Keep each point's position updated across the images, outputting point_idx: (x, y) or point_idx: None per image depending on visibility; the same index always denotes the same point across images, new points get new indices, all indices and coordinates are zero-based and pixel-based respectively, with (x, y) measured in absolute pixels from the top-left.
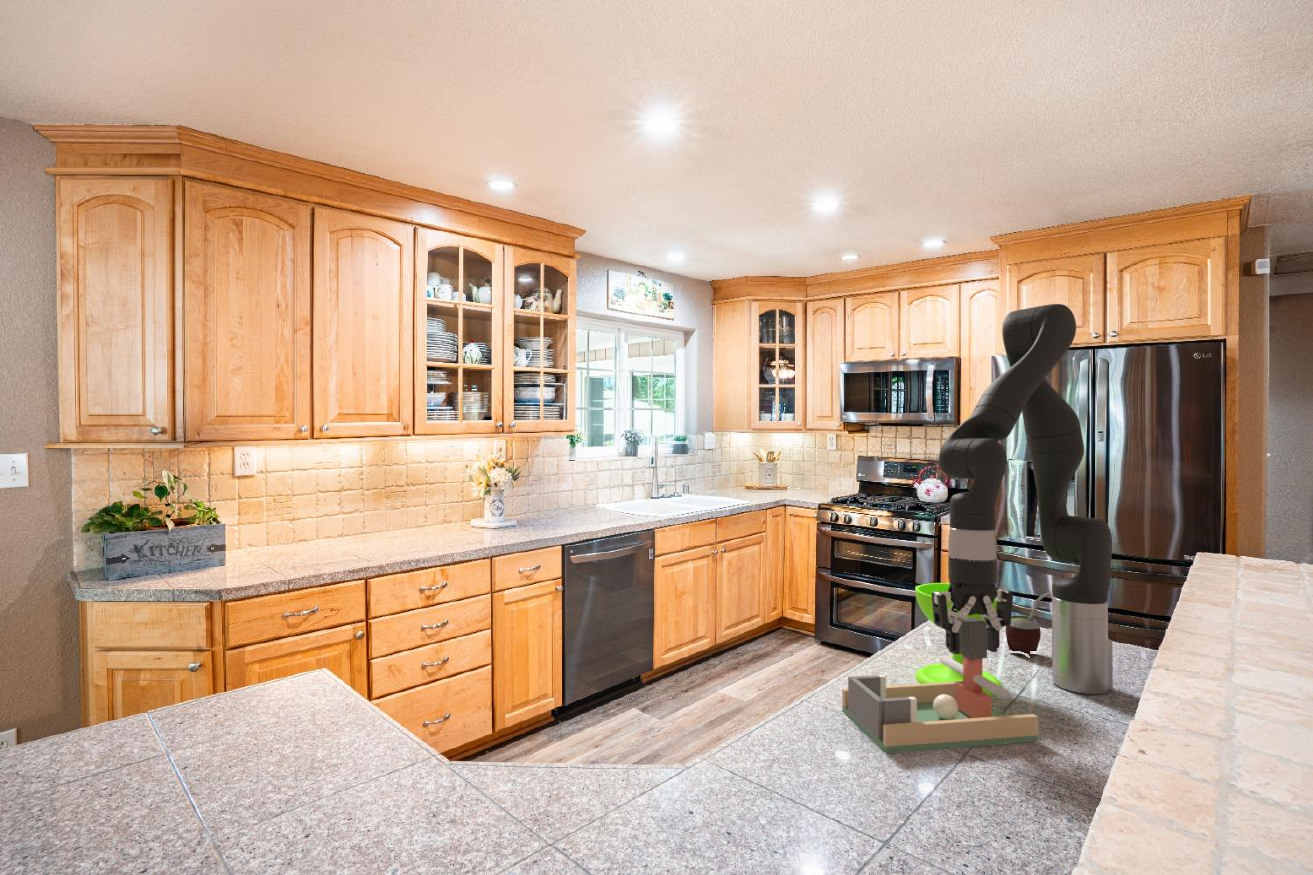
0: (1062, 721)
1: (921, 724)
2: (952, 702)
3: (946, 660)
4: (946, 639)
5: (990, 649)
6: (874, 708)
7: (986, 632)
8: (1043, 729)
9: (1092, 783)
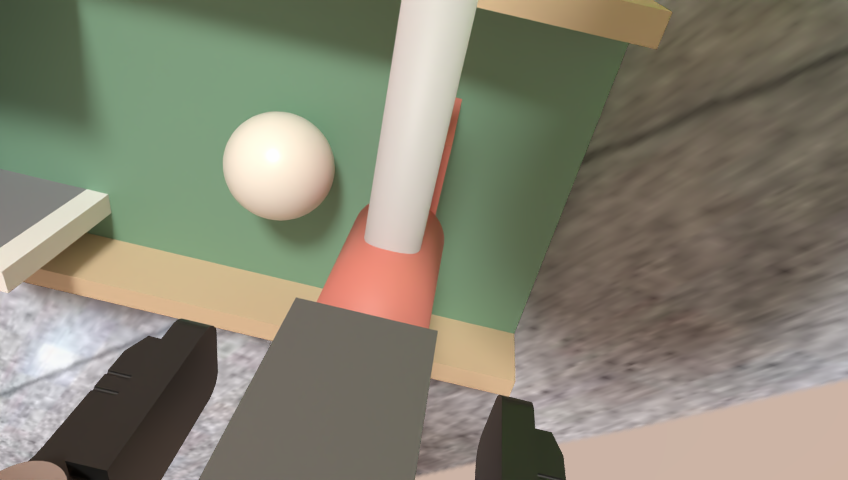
0: (759, 283)
1: (63, 289)
2: (273, 219)
3: (400, 40)
4: (90, 400)
5: (485, 435)
6: None
7: None
8: (616, 294)
9: (427, 472)
